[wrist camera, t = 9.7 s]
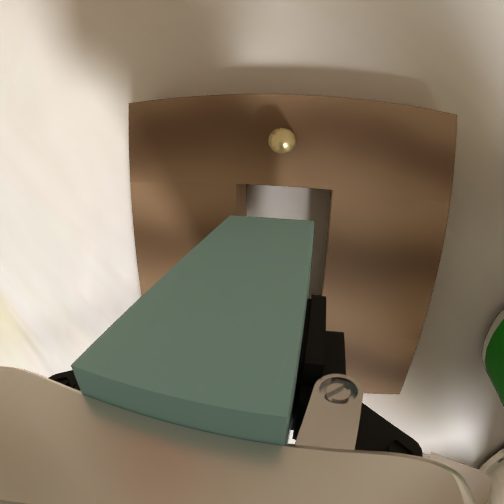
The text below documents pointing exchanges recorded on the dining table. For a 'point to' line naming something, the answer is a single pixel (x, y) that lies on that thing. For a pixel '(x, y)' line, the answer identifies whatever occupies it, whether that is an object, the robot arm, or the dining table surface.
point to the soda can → (495, 354)
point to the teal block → (214, 335)
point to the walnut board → (308, 176)
